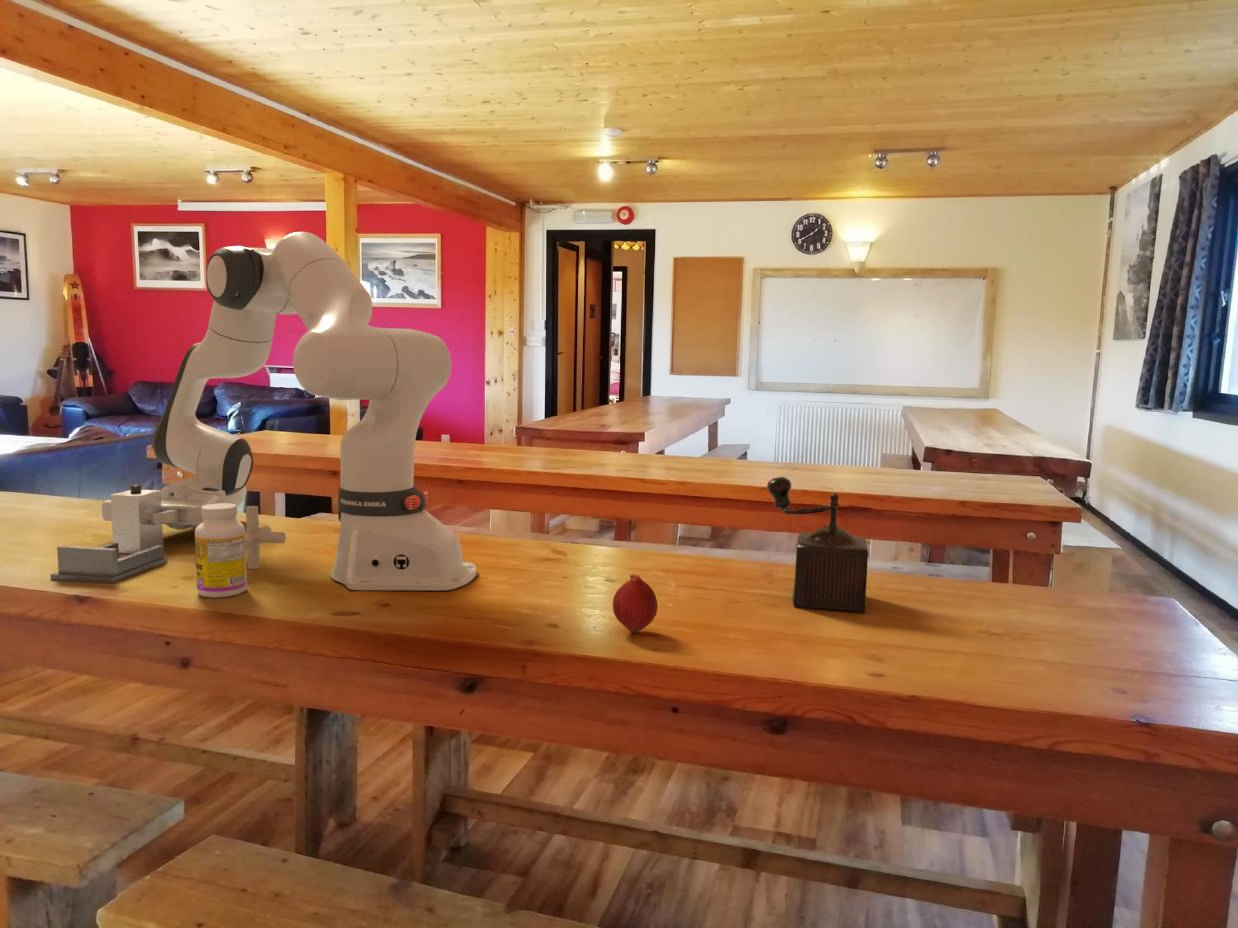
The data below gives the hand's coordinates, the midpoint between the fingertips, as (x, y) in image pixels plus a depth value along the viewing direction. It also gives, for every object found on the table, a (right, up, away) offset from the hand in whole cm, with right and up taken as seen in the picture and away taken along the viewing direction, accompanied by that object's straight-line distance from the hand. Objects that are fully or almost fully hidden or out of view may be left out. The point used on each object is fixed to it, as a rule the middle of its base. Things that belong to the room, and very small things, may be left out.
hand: (133, 519), depth 148 cm
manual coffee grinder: (+112, -11, -17) cm, 114 cm away
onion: (+85, -13, -35) cm, 93 cm away
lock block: (0, -5, +2) cm, 6 cm away
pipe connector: (+24, -8, -8) cm, 26 cm away
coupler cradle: (+3, -7, -12) cm, 14 cm away
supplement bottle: (+25, -9, -22) cm, 35 cm away
